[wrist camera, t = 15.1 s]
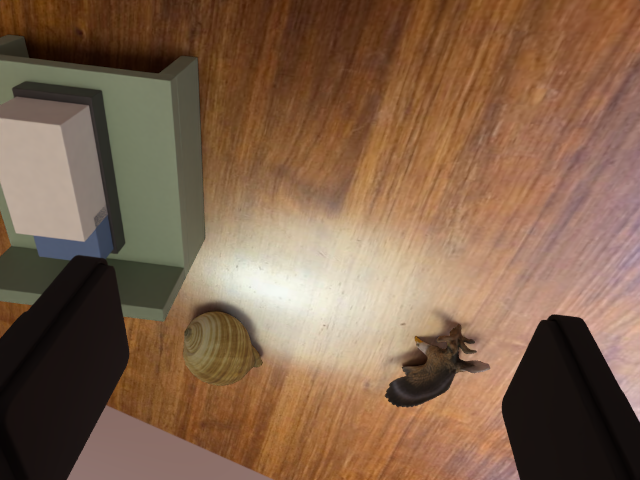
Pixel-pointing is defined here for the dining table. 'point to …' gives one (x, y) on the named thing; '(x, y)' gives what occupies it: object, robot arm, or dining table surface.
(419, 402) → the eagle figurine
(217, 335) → the seashell
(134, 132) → the olive lipped platform
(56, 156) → the black base with blocks
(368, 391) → the dining table surface
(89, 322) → the robot arm
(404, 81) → the dining table surface
